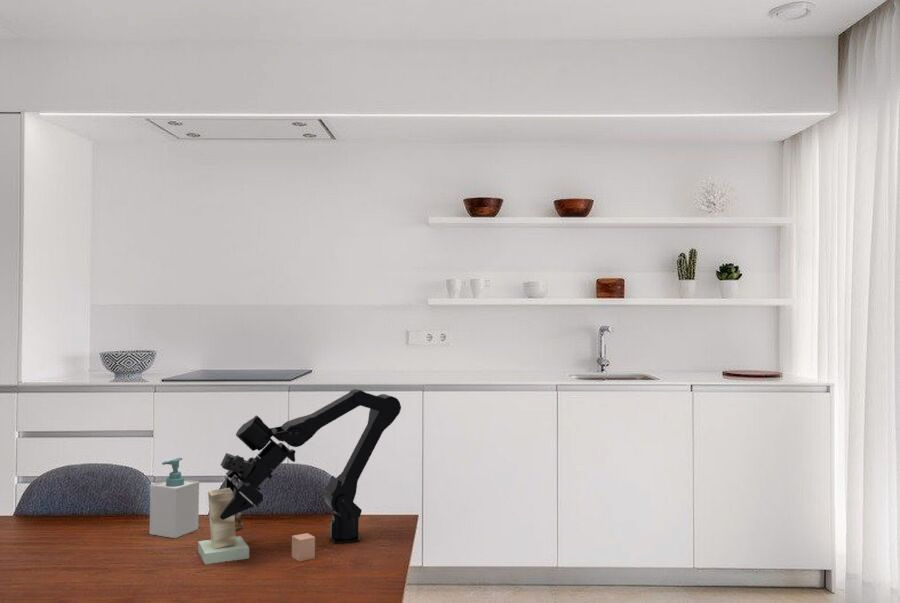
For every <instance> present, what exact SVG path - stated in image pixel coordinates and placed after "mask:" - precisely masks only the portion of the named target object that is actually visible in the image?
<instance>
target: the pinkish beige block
mask: <svg viewBox="0 0 900 603" xmlns="http://www.w3.org/2000/svg"><path fill="white" fill-rule="evenodd" d="M315 553H316V537H315V536H314V535H312V534H310V533H308V532H306V533H300V534H299V533H298V534H295V535H292V536H291V558H292V559H294V560H296V561H297V562H304V561H308V560H314V559H316V558H315V557H316V554H315Z"/></svg>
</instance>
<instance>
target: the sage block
mask: <svg viewBox="0 0 900 603" xmlns="http://www.w3.org/2000/svg"><path fill="white" fill-rule="evenodd" d="M197 545H198V546H197V549H198V550H197V552H198V554H199V556H200V558H201V560H202V562H203V564H204V565H211V564H212V563H213V564H217V563H219V562H220V563H226V562H225V561H227V562H232V561H233V560H234V561H241V560H246V559H250V547H249V546H248V544H247V543H246V542H245V540H244V539H243V538H242V536H241V535H238V536H237V535H236V545H232V546H227V547H221V548H216V549H214V548H213V546H212V544H211V539H207V540H201V541H198V543H197ZM234 561H233V562H234Z"/></svg>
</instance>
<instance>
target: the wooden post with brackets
mask: <svg viewBox="0 0 900 603" xmlns="http://www.w3.org/2000/svg"><path fill="white" fill-rule="evenodd" d="M241 516H242V512H239V513H237V514H235V522H238V524H237V525H236V524H235V531H236V530H239V527H240V528H244V525H243V521H241V518H240V517H241Z"/></svg>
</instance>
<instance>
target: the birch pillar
mask: <svg viewBox="0 0 900 603" xmlns="http://www.w3.org/2000/svg"><path fill="white" fill-rule="evenodd" d="M224 488H225V487H224ZM224 488H219V489H213V490H208V491H207V493H208V494H207V496H208V511H209V512H208V513H209V530H210V531H209V533H210V540H211V544H212V546H213V548H214V549H216V548H221V547H227V546H232V545H236V537H237V535H236V530H235V525H236V521H235V515H233V516H231V517H228V518H226V519H224V520H222V519H221V518H220V515H221V514H222V512H223V511H224V509H225V508H226V507H227V505H228V504H229V503H230V501H231V500H232V498H233V491H232V490H231V489H230V488H225V489H224Z"/></svg>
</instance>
